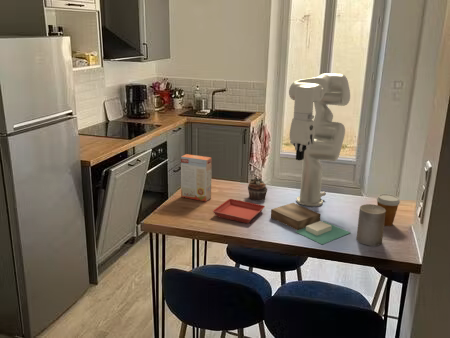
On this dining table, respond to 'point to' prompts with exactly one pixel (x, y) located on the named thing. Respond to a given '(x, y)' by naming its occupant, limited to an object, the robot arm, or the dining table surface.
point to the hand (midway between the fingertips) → (299, 159)
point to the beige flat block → (318, 228)
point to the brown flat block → (295, 216)
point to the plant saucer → (238, 210)
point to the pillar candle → (371, 224)
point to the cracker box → (196, 177)
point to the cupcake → (257, 189)
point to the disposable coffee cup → (388, 207)
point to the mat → (324, 234)
